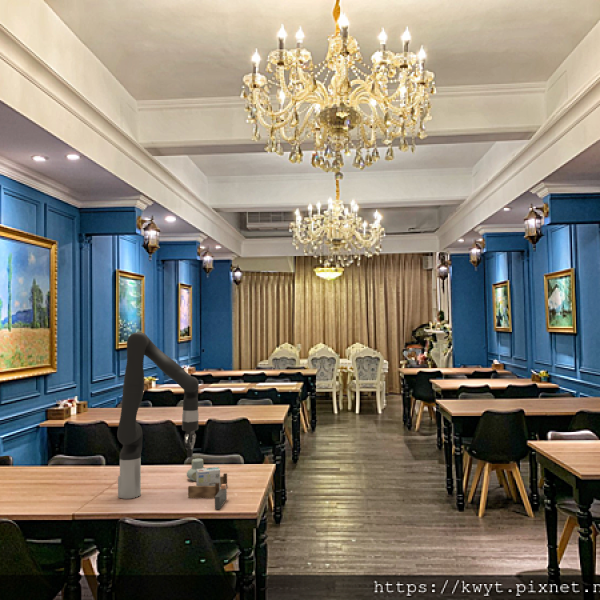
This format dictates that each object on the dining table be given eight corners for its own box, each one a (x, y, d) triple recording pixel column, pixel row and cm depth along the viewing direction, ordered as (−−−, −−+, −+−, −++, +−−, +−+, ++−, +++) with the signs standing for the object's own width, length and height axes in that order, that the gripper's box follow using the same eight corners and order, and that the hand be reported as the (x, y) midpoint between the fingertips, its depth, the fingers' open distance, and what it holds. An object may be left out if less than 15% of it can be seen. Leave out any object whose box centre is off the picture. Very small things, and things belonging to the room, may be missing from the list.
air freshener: (207, 476, 280) (207, 457, 281) (209, 480, 273) (209, 460, 273) (185, 478, 277) (185, 459, 278) (187, 482, 269) (187, 462, 270)
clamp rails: (188, 498, 244) (188, 483, 244) (198, 486, 262) (198, 473, 262) (218, 498, 243) (218, 483, 243) (227, 486, 261) (227, 473, 261)
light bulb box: (218, 489, 257) (218, 466, 258) (221, 493, 251) (220, 469, 251) (195, 491, 254) (195, 468, 254) (197, 495, 247) (197, 471, 248)
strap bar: (214, 509, 227) (214, 493, 227) (222, 498, 241) (222, 484, 241) (219, 509, 226) (219, 493, 227) (226, 498, 240) (226, 484, 241)
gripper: (186, 417, 261) (186, 453, 260) (178, 421, 248) (177, 460, 247) (201, 417, 260) (201, 454, 259) (194, 422, 247) (193, 460, 246)
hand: (189, 457), depth 253 cm, fingers closed
